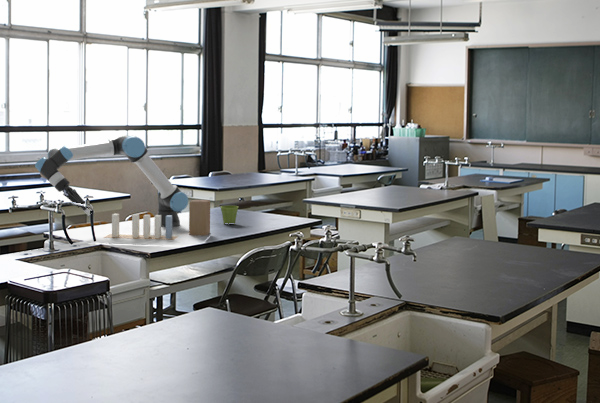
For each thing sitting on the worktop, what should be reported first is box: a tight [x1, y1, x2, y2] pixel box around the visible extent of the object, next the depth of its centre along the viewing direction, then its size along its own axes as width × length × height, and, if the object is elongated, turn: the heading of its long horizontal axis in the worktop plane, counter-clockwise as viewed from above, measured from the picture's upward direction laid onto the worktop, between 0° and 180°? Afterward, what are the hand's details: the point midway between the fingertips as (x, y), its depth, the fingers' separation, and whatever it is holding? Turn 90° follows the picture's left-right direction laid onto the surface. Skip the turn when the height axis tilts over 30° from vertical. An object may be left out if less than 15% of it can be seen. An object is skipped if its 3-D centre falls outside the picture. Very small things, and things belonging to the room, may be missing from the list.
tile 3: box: [142, 214, 151, 238], centre depth 366 cm, size 5×3×12 cm, turn 179°
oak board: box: [103, 233, 179, 241], centre depth 367 cm, size 12×38×1 cm, turn 89°
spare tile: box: [111, 213, 120, 237], centre depth 367 cm, size 5×3×12 cm, turn 179°
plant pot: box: [219, 205, 239, 224], centre depth 427 cm, size 12×12×11 cm
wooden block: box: [188, 199, 211, 237], centre depth 381 cm, size 10×10×20 cm
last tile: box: [165, 215, 173, 239], centre depth 366 cm, size 5×3×12 cm, turn 179°
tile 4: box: [153, 214, 162, 238], centre depth 366 cm, size 5×3×12 cm, turn 179°
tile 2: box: [131, 213, 140, 238], centre depth 366 cm, size 5×3×12 cm, turn 179°
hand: (90, 213), depth 366 cm, fingers closed
